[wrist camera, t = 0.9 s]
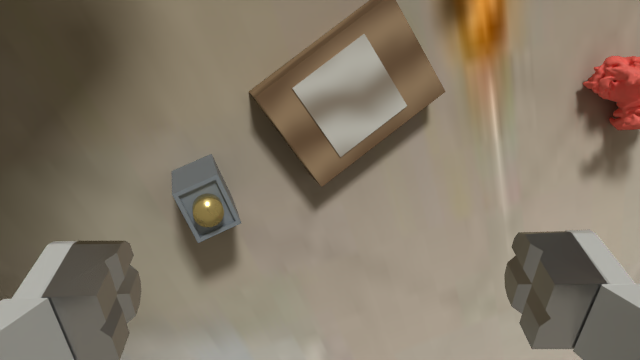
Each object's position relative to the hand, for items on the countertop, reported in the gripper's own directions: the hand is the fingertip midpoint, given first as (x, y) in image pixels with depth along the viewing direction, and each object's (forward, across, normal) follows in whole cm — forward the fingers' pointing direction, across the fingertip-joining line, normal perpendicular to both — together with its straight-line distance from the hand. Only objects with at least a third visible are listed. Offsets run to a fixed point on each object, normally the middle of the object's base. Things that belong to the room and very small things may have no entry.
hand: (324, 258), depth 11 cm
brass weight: (+30, +10, +21) cm, 38 cm away
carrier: (+37, +12, +22) cm, 45 cm away
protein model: (+52, -39, +18) cm, 67 cm away
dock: (+43, -4, +14) cm, 45 cm away
